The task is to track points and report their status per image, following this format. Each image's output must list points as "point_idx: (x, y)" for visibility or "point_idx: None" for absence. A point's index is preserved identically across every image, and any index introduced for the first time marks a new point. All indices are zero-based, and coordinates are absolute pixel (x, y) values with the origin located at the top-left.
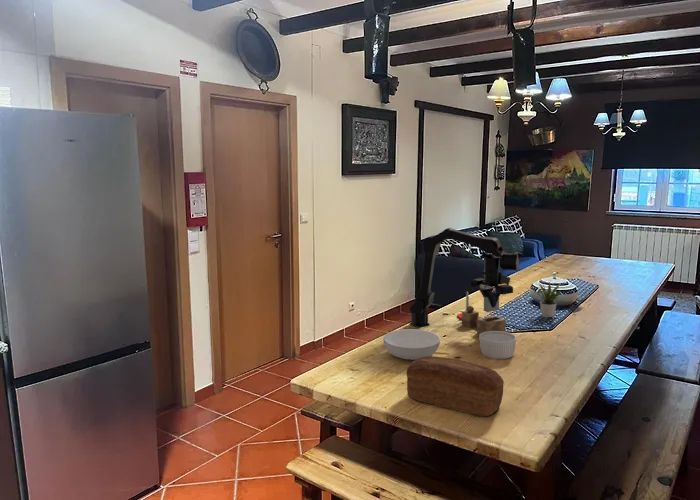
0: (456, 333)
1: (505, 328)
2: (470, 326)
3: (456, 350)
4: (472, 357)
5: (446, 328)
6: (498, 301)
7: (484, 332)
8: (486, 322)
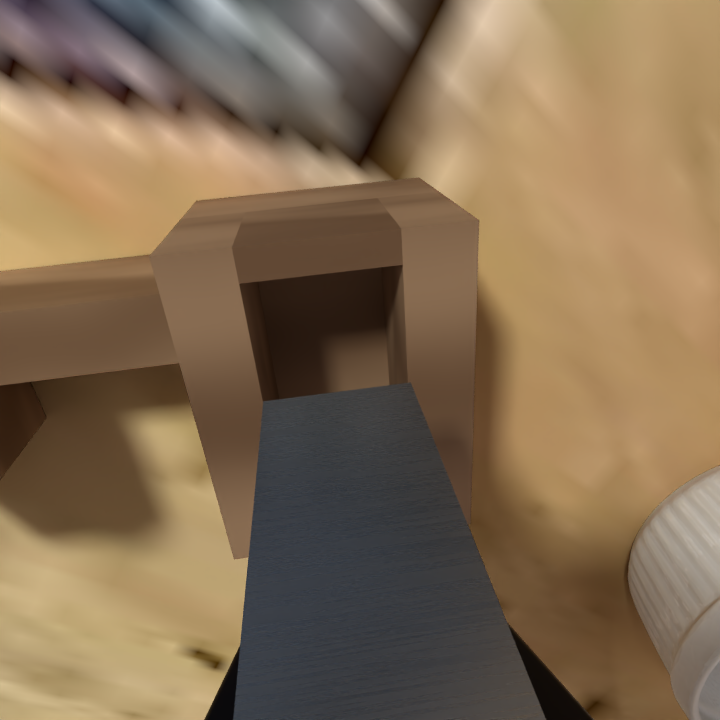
0: (185, 578)
1: (435, 192)
2: (34, 412)
3: None
4: (648, 658)
5: (7, 593)
6: (478, 581)
7: (698, 698)
8: None
